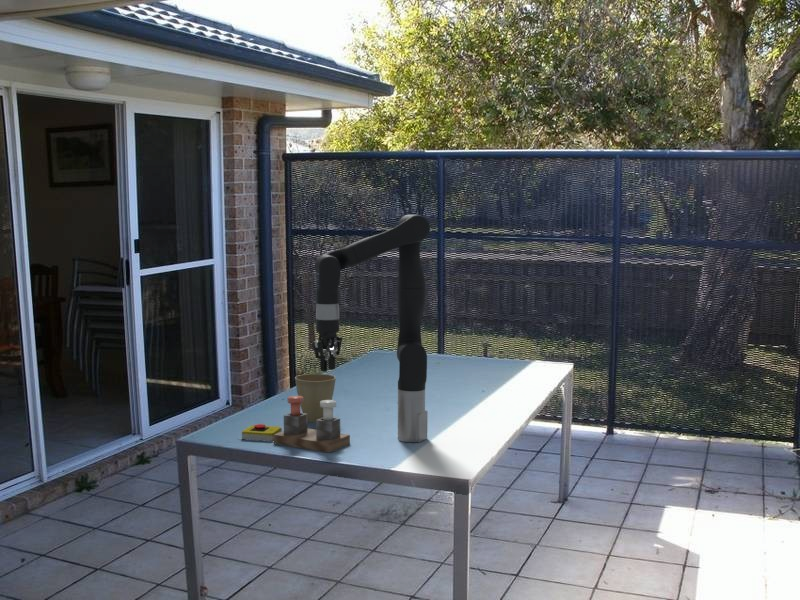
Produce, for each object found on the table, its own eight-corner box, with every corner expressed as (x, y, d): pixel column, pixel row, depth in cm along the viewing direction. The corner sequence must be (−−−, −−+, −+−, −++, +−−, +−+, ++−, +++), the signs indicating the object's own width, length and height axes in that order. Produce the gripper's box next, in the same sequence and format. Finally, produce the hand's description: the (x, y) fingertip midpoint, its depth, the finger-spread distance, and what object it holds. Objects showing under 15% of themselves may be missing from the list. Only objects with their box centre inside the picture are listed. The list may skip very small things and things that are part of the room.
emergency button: (247, 421, 280) (288, 423, 277) (247, 433, 281) (288, 436, 277) (236, 427, 271) (278, 430, 268) (236, 440, 272) (278, 443, 268)
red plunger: (306, 416, 270) (306, 396, 269) (297, 420, 265) (297, 399, 264) (293, 414, 272) (293, 395, 271) (284, 418, 268) (284, 398, 267)
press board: (349, 443, 266) (349, 416, 265) (329, 452, 256) (329, 425, 255) (295, 435, 277) (295, 409, 276) (273, 443, 266) (273, 416, 265)
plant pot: (325, 426, 288) (325, 382, 287) (288, 422, 294) (287, 379, 292) (342, 416, 302) (342, 375, 301) (306, 413, 308) (306, 372, 306)
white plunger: (339, 421, 263) (339, 401, 263) (330, 425, 259) (330, 404, 258) (326, 419, 266) (325, 399, 265) (317, 423, 261) (316, 402, 261)
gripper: (325, 320, 251) (325, 375, 253) (349, 315, 263) (349, 367, 265) (305, 319, 255) (305, 372, 256) (330, 314, 267) (330, 365, 269)
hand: (327, 369), depth 261 cm, fingers open, 4 cm apart
